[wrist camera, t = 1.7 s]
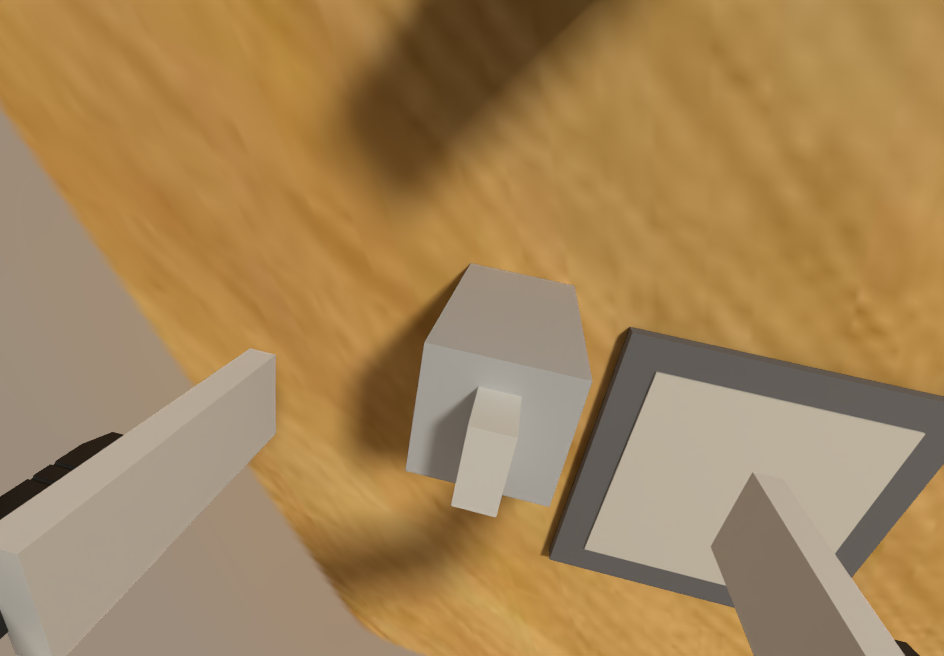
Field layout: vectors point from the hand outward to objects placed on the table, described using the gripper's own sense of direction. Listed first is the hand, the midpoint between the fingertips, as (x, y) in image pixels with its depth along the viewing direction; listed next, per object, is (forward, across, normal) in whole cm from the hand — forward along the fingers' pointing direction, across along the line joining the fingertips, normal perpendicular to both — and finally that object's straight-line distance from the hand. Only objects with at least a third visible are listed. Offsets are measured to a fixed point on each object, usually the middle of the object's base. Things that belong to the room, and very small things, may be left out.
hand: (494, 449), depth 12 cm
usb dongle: (+8, 0, 0) cm, 8 cm away
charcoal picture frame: (+9, +12, -6) cm, 16 cm away
